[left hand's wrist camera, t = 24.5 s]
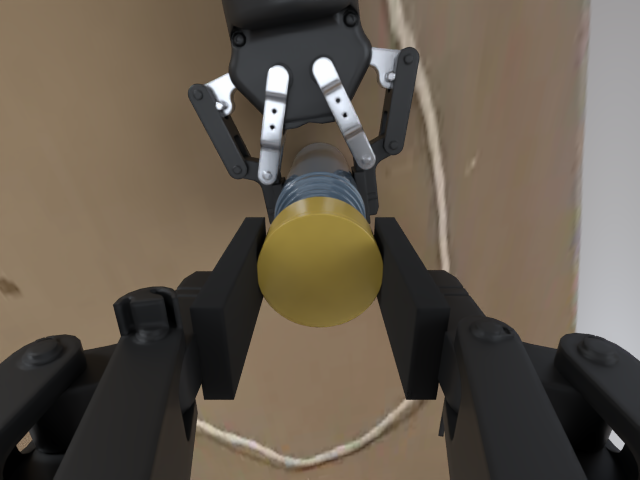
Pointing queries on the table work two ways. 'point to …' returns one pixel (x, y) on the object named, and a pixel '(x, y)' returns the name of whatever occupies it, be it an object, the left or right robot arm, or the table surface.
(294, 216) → the cap
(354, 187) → the bottle
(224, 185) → the table surface
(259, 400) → the table surface
